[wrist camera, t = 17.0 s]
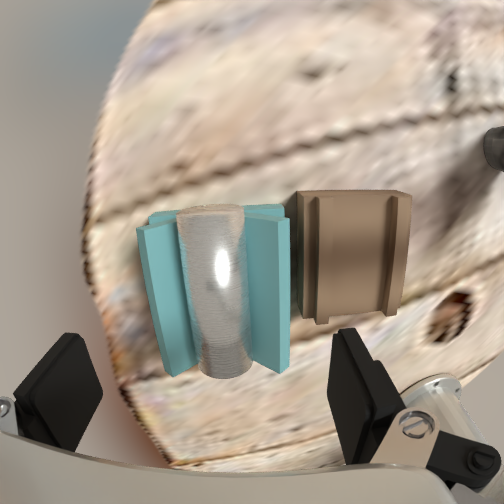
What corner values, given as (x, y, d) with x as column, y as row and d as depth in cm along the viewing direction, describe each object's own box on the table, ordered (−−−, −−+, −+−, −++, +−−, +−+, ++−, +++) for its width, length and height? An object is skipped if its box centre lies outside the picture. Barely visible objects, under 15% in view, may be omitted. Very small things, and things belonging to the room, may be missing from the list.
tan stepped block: (386, 293, 28) (404, 313, 24) (297, 302, 28) (305, 325, 24) (395, 190, 25) (418, 198, 21) (296, 191, 25) (306, 198, 21)
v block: (283, 330, 29) (292, 372, 23) (174, 335, 29) (161, 377, 23) (281, 203, 25) (293, 221, 19) (155, 212, 25) (130, 231, 19)
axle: (248, 342, 26) (257, 374, 22) (197, 348, 26) (198, 381, 21) (239, 202, 22) (248, 213, 18) (178, 207, 22) (173, 220, 18)
